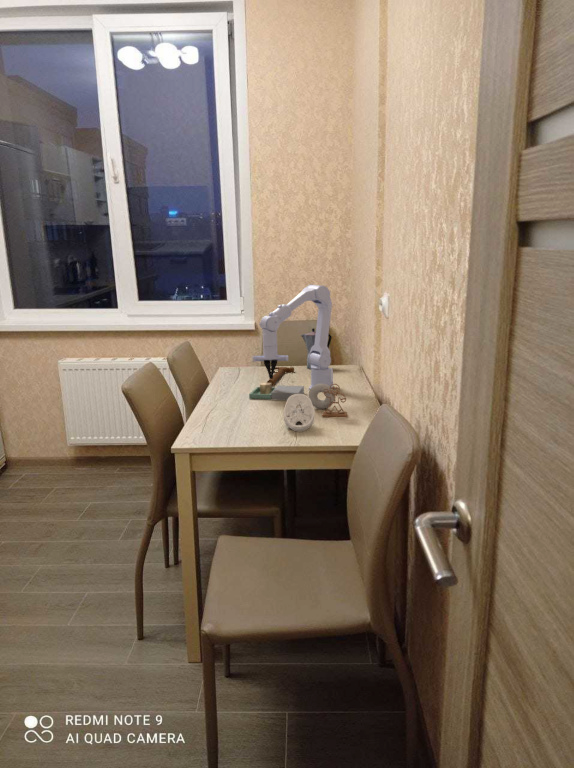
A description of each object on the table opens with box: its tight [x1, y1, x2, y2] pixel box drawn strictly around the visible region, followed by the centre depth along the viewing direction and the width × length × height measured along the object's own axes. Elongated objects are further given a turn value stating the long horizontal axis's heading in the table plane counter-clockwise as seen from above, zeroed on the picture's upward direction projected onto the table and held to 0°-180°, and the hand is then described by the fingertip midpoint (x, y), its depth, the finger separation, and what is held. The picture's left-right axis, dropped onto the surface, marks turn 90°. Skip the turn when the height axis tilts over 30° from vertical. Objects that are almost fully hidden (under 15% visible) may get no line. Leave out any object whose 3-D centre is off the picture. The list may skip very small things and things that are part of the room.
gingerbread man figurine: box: [321, 383, 348, 418], centre depth 202 cm, size 9×4×12 cm, turn 84°
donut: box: [308, 383, 334, 410], centre depth 211 cm, size 10×4×10 cm, turn 78°
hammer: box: [266, 366, 295, 387], centre depth 262 cm, size 12×3×30 cm
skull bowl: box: [283, 394, 316, 432], centre depth 191 cm, size 10×14×12 cm
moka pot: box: [300, 328, 332, 370], centre depth 281 cm, size 10×15×20 cm, turn 82°
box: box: [248, 386, 277, 401], centre depth 233 cm, size 9×12×2 cm
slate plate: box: [271, 384, 305, 401], centre depth 230 cm, size 11×12×3 cm
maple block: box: [259, 382, 273, 394], centre depth 234 cm, size 4×4×4 cm
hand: (271, 378), depth 230 cm, fingers closed
